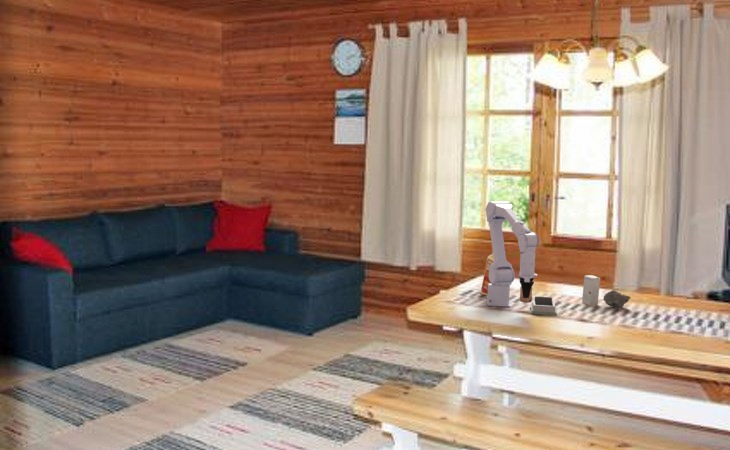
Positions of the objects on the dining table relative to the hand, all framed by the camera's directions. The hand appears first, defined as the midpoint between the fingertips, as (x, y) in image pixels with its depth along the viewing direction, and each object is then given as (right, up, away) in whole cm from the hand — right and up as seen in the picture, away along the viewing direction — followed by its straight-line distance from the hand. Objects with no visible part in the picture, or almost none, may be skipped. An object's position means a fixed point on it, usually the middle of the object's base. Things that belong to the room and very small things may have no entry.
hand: (525, 296), depth 282 cm
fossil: (+42, -7, +16) cm, 45 cm away
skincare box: (+33, -6, +23) cm, 40 cm away
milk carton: (-5, -3, +39) cm, 39 cm away
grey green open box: (+9, -7, +8) cm, 14 cm away
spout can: (0, -2, 0) cm, 2 cm away
